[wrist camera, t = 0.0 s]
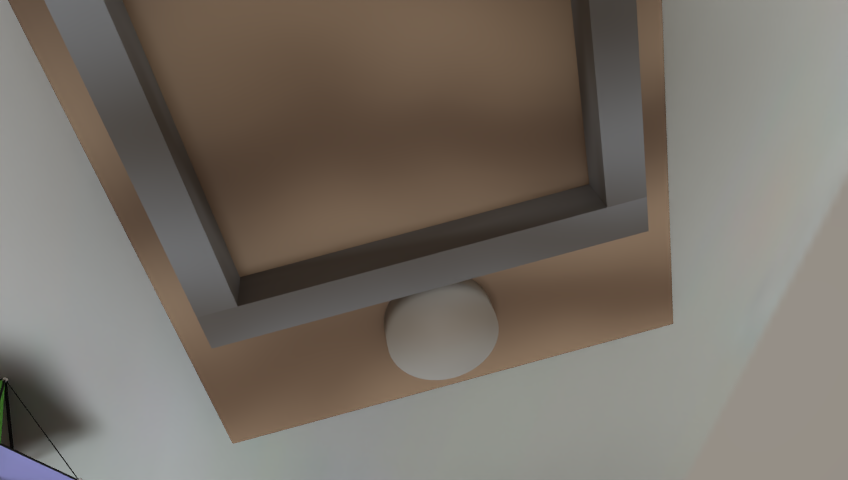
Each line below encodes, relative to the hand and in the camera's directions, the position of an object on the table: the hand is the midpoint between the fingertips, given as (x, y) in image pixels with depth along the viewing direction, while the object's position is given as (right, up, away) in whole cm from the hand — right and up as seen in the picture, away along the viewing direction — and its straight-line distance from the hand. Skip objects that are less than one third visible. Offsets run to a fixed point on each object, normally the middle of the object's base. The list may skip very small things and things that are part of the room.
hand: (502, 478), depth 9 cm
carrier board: (-2, +6, +14) cm, 15 cm away
